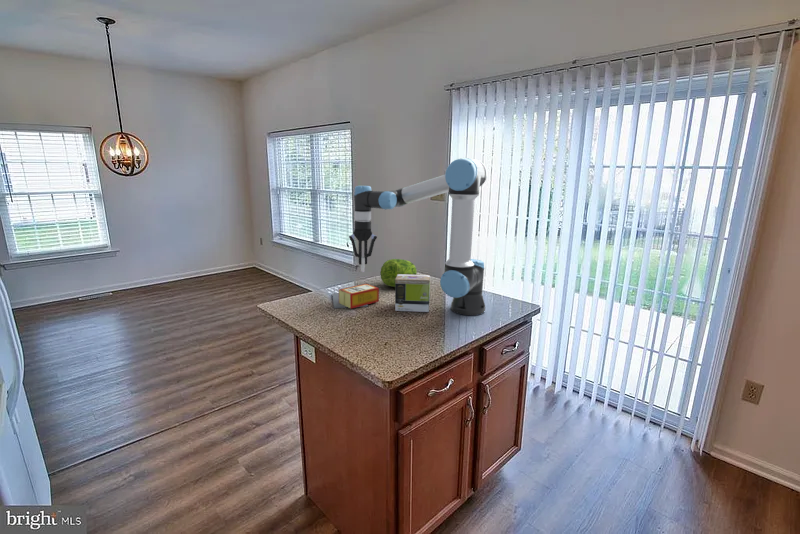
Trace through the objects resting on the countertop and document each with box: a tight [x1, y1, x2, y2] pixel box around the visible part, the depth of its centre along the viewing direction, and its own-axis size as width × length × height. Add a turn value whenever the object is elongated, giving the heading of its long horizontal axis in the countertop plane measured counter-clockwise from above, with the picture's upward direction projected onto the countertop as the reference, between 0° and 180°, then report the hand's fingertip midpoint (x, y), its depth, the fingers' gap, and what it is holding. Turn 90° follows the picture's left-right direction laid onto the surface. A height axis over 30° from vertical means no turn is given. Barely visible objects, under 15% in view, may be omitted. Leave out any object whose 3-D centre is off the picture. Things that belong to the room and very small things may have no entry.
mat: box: [331, 292, 369, 309], centre depth 185 cm, size 20×15×1 cm
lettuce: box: [380, 258, 418, 288], centre depth 209 cm, size 16×21×15 cm
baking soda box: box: [338, 283, 380, 309], centre depth 180 cm, size 10×6×16 cm
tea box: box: [394, 274, 431, 313], centre depth 175 cm, size 15×10×15 cm, turn 84°
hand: (362, 271), depth 183 cm, fingers closed
